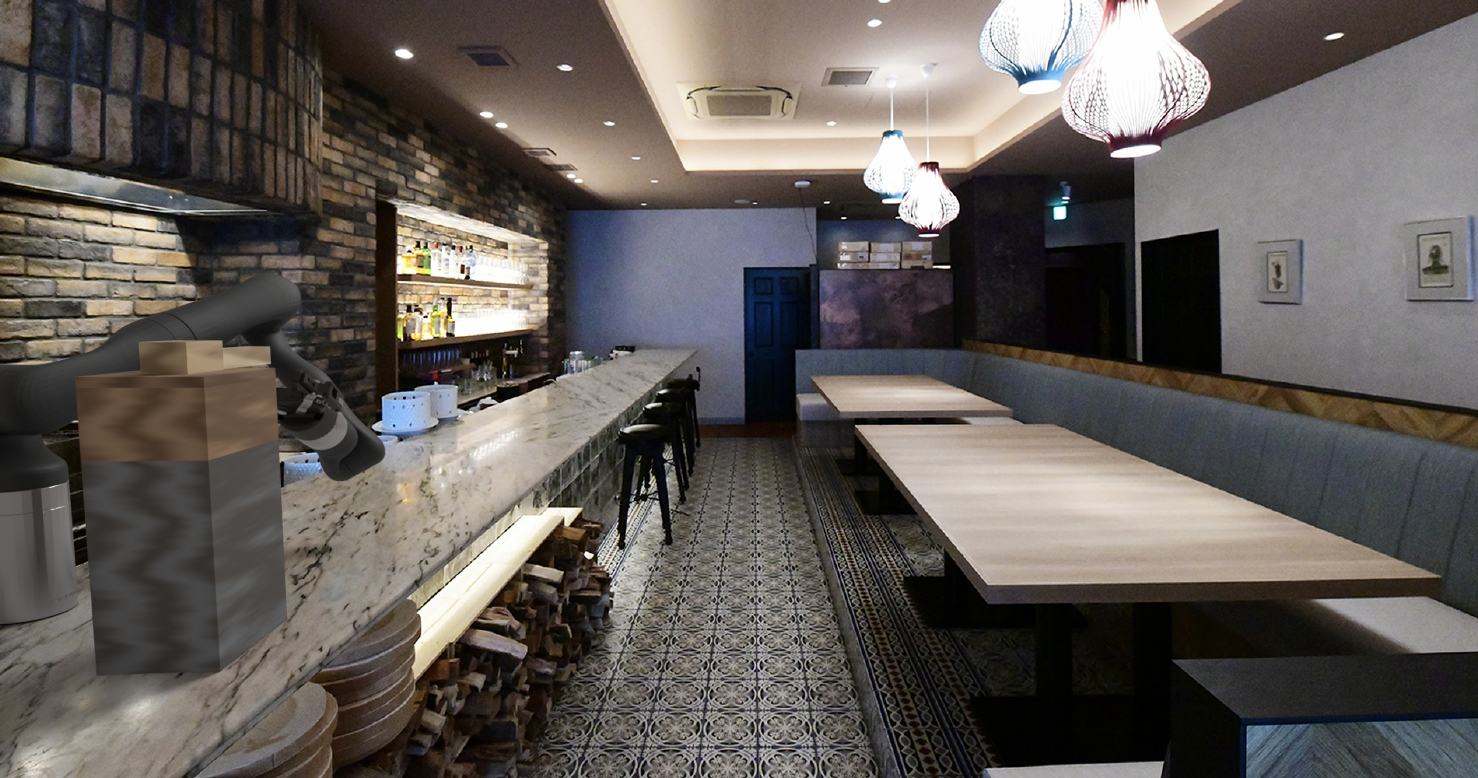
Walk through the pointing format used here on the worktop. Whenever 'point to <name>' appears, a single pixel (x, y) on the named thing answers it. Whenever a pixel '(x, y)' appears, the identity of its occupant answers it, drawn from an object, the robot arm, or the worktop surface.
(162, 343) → the wooden key
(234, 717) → the worktop surface
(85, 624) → the worktop surface
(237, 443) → the grey tall block
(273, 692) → the worktop surface
